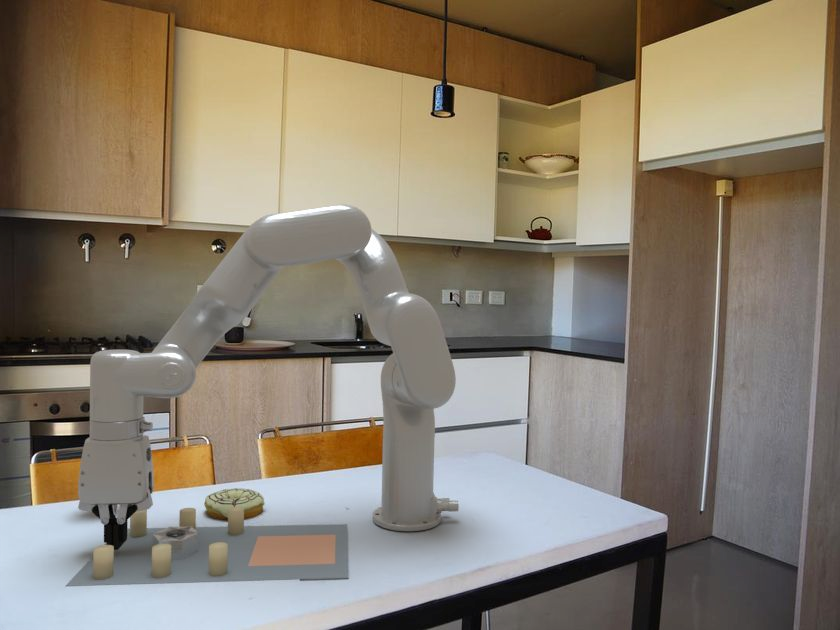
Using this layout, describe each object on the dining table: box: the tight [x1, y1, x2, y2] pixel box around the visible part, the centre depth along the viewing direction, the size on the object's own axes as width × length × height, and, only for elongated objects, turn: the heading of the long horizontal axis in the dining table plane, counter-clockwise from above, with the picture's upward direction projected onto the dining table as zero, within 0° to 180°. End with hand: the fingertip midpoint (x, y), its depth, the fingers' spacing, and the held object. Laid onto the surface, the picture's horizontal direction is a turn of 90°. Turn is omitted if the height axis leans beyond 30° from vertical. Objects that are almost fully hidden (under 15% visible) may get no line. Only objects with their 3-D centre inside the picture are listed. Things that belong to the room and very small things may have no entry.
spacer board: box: [65, 507, 349, 587], centre depth 102 cm, size 39×22×4 cm, turn 97°
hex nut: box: [153, 526, 198, 560], centre depth 102 cm, size 7×6×3 cm
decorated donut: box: [203, 487, 266, 520], centre depth 121 cm, size 10×11×4 cm
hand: (115, 546), depth 101 cm, fingers closed
